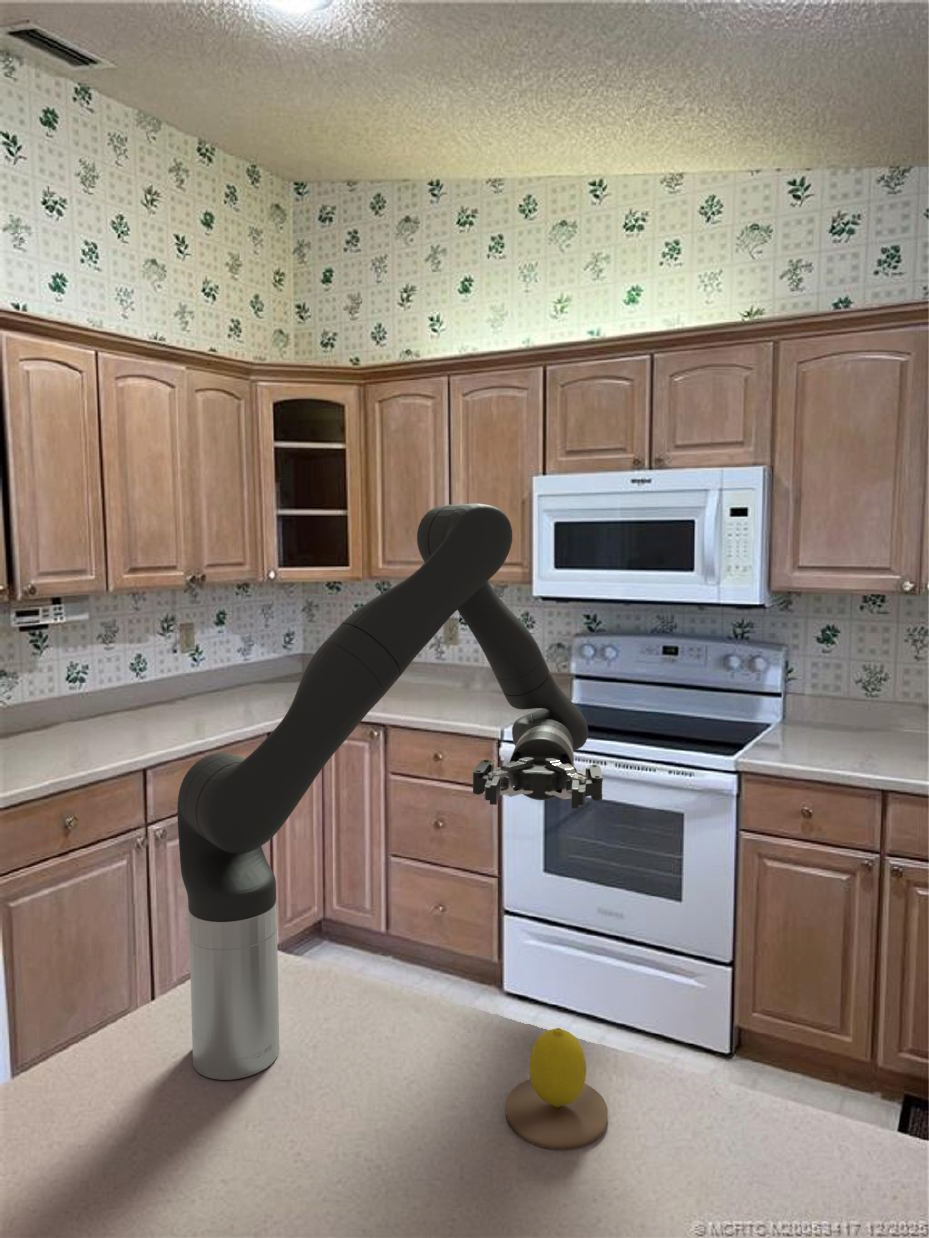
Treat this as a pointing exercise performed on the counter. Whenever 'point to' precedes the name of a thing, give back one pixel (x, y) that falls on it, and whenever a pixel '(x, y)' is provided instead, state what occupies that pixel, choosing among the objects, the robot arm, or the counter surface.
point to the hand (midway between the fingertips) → (533, 797)
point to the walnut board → (556, 1118)
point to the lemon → (557, 1067)
